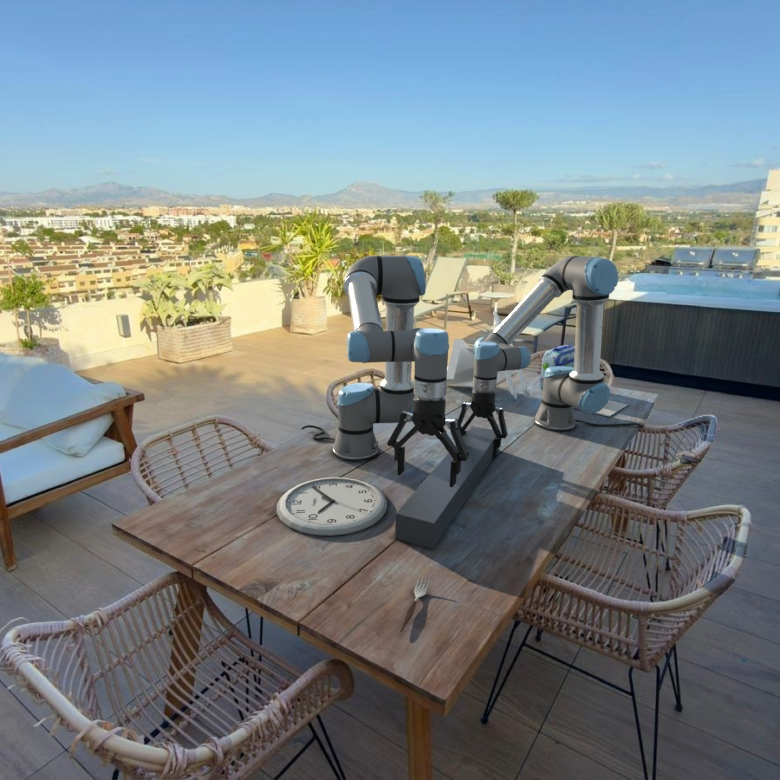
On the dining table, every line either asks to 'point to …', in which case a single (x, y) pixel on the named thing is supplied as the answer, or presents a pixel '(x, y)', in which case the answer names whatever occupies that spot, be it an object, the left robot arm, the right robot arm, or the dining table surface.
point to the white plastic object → (464, 365)
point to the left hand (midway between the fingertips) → (426, 479)
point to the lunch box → (557, 359)
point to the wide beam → (444, 492)
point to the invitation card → (611, 408)
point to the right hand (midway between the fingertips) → (479, 452)
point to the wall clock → (331, 506)
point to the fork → (418, 593)
